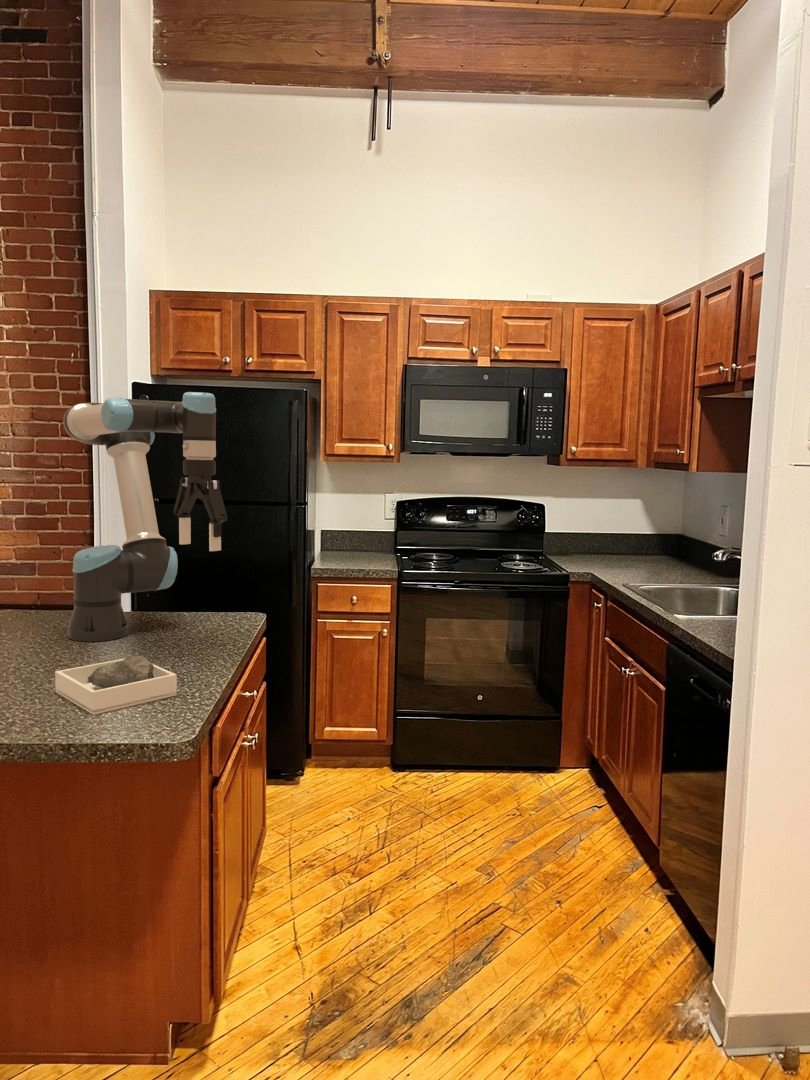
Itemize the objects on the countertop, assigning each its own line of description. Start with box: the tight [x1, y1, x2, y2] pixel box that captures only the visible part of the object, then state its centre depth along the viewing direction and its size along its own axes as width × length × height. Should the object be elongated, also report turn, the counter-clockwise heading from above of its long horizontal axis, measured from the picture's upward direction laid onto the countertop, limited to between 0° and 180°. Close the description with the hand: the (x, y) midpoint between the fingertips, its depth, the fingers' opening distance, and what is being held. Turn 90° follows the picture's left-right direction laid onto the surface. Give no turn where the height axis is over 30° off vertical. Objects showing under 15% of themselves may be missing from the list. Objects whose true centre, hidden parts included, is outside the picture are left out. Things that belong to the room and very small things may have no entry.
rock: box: [87, 655, 154, 689], centre depth 161 cm, size 13×9×6 cm, turn 109°
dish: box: [54, 657, 178, 715], centre depth 160 cm, size 18×18×4 cm
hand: (199, 547), depth 187 cm, fingers open, 13 cm apart
